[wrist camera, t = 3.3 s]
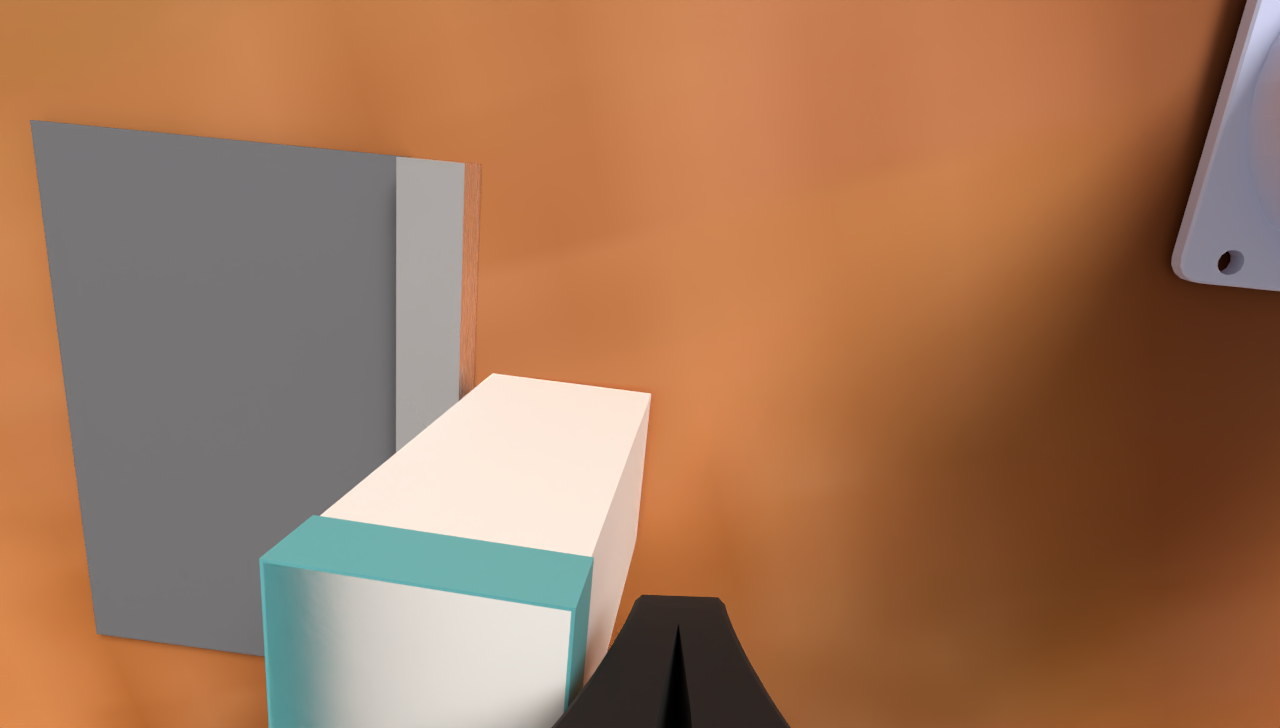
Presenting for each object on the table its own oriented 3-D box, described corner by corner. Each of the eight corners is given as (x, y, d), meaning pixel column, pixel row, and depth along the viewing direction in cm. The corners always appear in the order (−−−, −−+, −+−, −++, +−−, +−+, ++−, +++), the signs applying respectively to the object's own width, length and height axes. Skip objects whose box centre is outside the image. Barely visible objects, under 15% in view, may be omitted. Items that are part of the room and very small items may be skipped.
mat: (411, 157, 16) (406, 157, 16) (407, 667, 20) (403, 675, 20) (41, 121, 17) (30, 120, 16) (105, 627, 20) (96, 633, 20)
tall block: (653, 391, 17) (575, 607, 9) (638, 541, 18) (555, 869, 10) (490, 371, 18) (259, 557, 9) (485, 519, 19) (273, 814, 10)
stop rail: (481, 164, 16) (464, 163, 15) (464, 675, 20) (450, 706, 19) (417, 157, 16) (396, 156, 15) (412, 668, 20) (395, 698, 19)
